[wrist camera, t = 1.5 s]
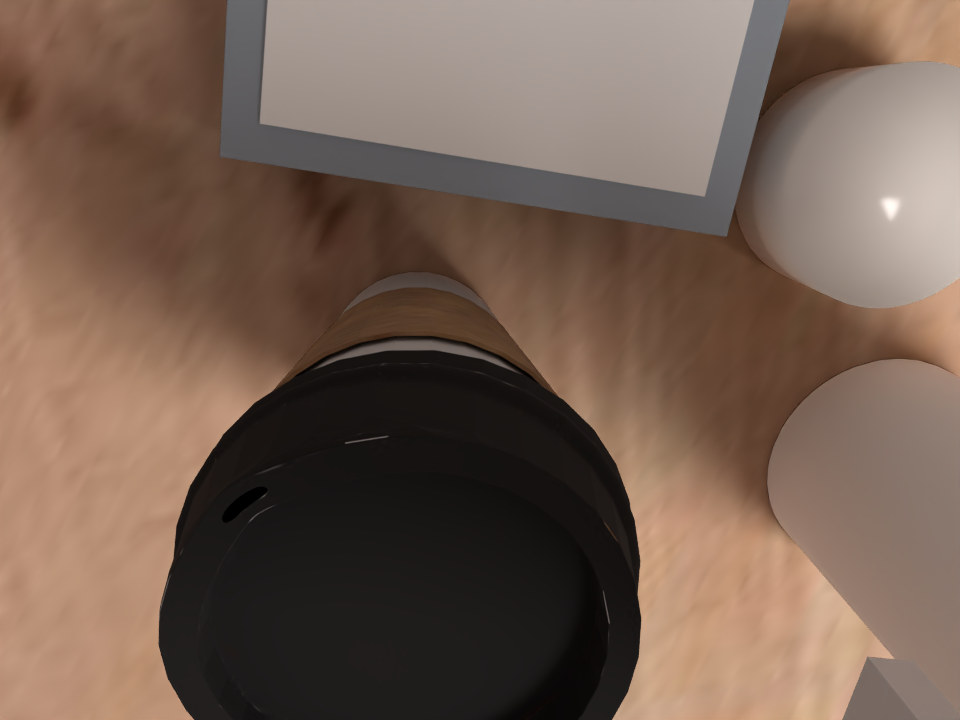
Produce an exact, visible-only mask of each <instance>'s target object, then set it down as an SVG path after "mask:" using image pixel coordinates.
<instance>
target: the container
mask: <svg viewBox="0 0 960 720" xmlns="http://www.w3.org/2000/svg"><path fill="white" fill-rule="evenodd" d="M767 487H768V493H769V500H770V504H771V507H772V510H773V512H774V514H775V517H776V519H777V520H778V522H779V523H780V525H781V526H782V528H783V529H784V530H785V531H786V533H787V534H788V535H789V536H790V537H791V538H792V540H793V541H794V542H795V543H796V544H797V545H798V547H799V548H800V549H801V550H802V551H803V552H804V554H805V555H806V556H807V557H808V558H809V559H810V560H811V562H812V563H813V564H814V565H815V566H816V567H817V569H818V570H819V571H820V572H821V573H822V574H823V576H824V577H825V578H826V579H827V580H828V581H829V583H830V584H831V585H832V586H833V587H834V588H835V590H836V591H837V592H838V593H839V594H840V595H841V597H842V598H843V599H844V600H845V601H846V602H847V604H848V605H849V606H850V607H851V608H852V609H853V611H854V612H855V613H856V614H857V615H858V616H859V618H860V619H861V620H862V621H863V622H864V623H865V625H866V626H867V627H868V628H869V629H870V630H871V631H872V633H873V634H874V635H875V636H876V637H877V638H878V640H879V641H880V642H881V643H882V644H883V645H884V647H885V648H886V649H887V650H888V651H889V652H890V654H891V655H892V656H893V657H894V658H895V659H896V660H907V661H914V662H915V663H916V664H917V666H918V667H919V668H920V669H921V670H922V671H923V672H924V674H925V675H926V676H927V677H928V678H929V679H930V680H931V682H932V683H933V684H934V685H935V686H936V687H937V688H938V690H939V691H940V692H941V693H942V694H943V695H944V696H945V698H946V699H947V700H948V701H949V702H950V703H951V704H952V706H953V707H954V708H955V709H956V710H957V711H958V712H959V714H960V377H958V376H956V375H954V374H952V373H950V372H948V371H946V370H944V369H942V368H940V367H938V366H935V365H932V364H929V363H925V362H922V361H918V360H908V359H890V360H880V361H874V362H871V363H867V364H864V365H860V366H856V367H854V368H851V369H849V370H847V371H844V372H842V373H840V374H838V375H837V376H835V377H833V378H831V379H830V380H828V381H827V382H825V383H823V384H822V385H821V386H819V387H818V388H817V389H816V390H814V391H813V392H812V393H811V394H810V395H809V396H807V397H806V398H805V399H804V400H803V401H802V402H801V403H800V405H799V406H798V407H797V408H796V409H795V410H794V411H793V413H792V414H791V415H790V417H789V418H788V419H787V421H786V423H785V424H784V426H783V427H782V429H781V431H780V433H779V436H778V438H777V440H776V442H775V444H774V446H773V449H772V453H771V457H770V461H769V465H768V478H767Z"/></svg>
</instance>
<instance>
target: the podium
mask: <svg viewBox="0 0 960 720" xmlns="http://www.w3.org/2000/svg"><path fill="white" fill-rule="evenodd" d="M789 1H790V0H227V16H226V37H225V57H224V78H223V98H222V118H221V139H220V157H224V158H230V159H237V160H243V161H249V162H256V163H262V164H268V165H275V166H281V167H287V168H294V169H300V170H306V171H313V172H319V173H325V174H332V175H338V176H344V177H351V178H357V179H363V180H370V181H376V182H382V183H389V184H395V185H401V186H408V187H414V188H420V189H426V190H433V191H439V192H445V193H452V194H458V195H464V196H471V197H477V198H483V199H490V200H496V201H502V202H509V203H515V204H521V205H528V206H534V207H540V208H547V209H553V210H559V211H566V212H572V213H578V214H585V215H591V216H597V217H604V218H610V219H616V220H623V221H629V222H635V223H642V224H648V225H654V226H661V227H667V228H673V229H680V230H686V231H692V232H699V233H705V234H711V235H718V236H724V237H727V233H728V229H729V226H730V222H731V218H732V214H733V211H734V207H735V203H736V200H737V196H738V192H739V188H740V185H741V181H742V177H743V173H744V170H745V166H746V162H747V158H748V155H749V151H750V147H751V143H752V140H753V136H754V132H755V128H756V125H757V121H758V117H759V113H760V110H761V106H762V102H763V98H764V95H765V91H766V87H767V83H768V80H769V76H770V72H771V68H772V65H773V61H774V57H775V54H776V50H777V46H778V42H779V39H780V35H781V31H782V27H783V24H784V20H785V16H786V12H787V9H788V5H789Z"/></svg>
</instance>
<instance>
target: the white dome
mask: <svg viewBox="0 0 960 720" xmlns="http://www.w3.org/2000/svg"><path fill="white" fill-rule="evenodd" d="M735 210H736V215H737V220H738V223H739V226H740V229H741V232H742V234H743V236H744V238H745V240H746V242H747V244H748V245H749V246H750V248H751V249H752V251H753V252H754V253H755V254H756V256H757V257H758V258H759V259H760V260H761V261H762V262H763V263H765V264H766V265H767V266H768V267H770V268H771V269H772V270H774V271H776V272H778V273H780V274H781V275H783V276H785V277H788V278H790V279H792V280H794V281H796V282H799V283H801V284H803V285H805V286H807V287H809V288H812V289H814V290H816V291H818V292H820V293H823V294H825V295H827V296H829V297H831V298H833V299H836V300H838V301H841V302H843V303H846V304H849V305H853V306H858V307H863V308H875V309H877V308H892V307H898V306H903V305H907V304H910V303H914V302H917V301H920V300H922V299H925V298H927V297H929V296H931V295H934V294H935V293H937V292H939V291H941V290H942V289H944V288H946V287H948V286H949V285H950V284H952V283H953V282H954V281H956V280H957V279H959V278H960V68H959V67H956V66H952V65H949V64H945V63H938V62H930V61H924V62H906V63H896V64H886V65H876V66H866V67H856V68H846V69H839V70H834V71H829V72H825V73H822V74H819V75H816V76H814V77H812V78H809V79H807V80H805V81H803V82H801V83H800V84H798V85H796V86H795V87H793V88H792V89H790V90H789V91H787V92H786V93H785V94H784V95H782V96H781V97H780V98H779V99H777V100H776V101H775V102H774V104H773V105H772V106H771V107H770V108H769V109H768V110H767V111H766V112H765V113H764V115H763V116H762V117H761V118H760V120H759V121H758V122H757V125H756V128H755V132H754V136H753V140H752V143H751V147H750V151H749V155H748V158H747V162H746V166H745V170H744V173H743V177H742V181H741V185H740V188H739V192H738V196H737V200H736V203H735Z"/></svg>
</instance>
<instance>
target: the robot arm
mask: <svg viewBox="0 0 960 720" xmlns="http://www.w3.org/2000/svg"><path fill="white" fill-rule="evenodd" d="M843 720H960V714H959V712H958V711H957V710H956V709H955V708H954V707H953V706H952V704H951V703H950V702H949V701H948V700H947V699H946V698H945V696H944V695H943V694H942V693H941V692H940V691H939V690H938V688H937V687H936V686H935V685H934V684H933V683H932V682H931V680H930V679H929V678H928V677H927V676H926V675H925V674H924V672H923V671H922V670H921V669H920V668H919V667H918V666H917V664H916V663H915V662H914V661H907V660H896V659H886V658H875V657H867V659H866V662H865V664H864V667H863V670H862V672H861V675H860V677H859V680H858V682H857V685H856V687H855V690H854V692H853V695H852V697H851V700H850V702H849V705H848V707H847V710H846V712H845V715H844V717H843Z"/></svg>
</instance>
